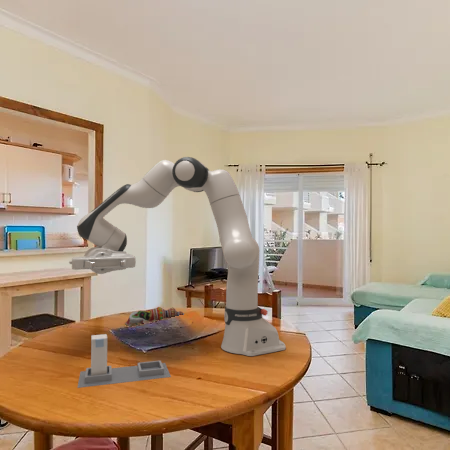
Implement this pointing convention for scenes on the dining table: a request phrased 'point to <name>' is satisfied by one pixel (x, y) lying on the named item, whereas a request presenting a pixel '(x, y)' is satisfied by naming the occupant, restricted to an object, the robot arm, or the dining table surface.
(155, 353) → the dining table surface
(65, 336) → the dining table surface
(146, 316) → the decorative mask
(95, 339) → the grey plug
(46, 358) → the dining table surface
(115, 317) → the dining table surface
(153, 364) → the grey flat plate
